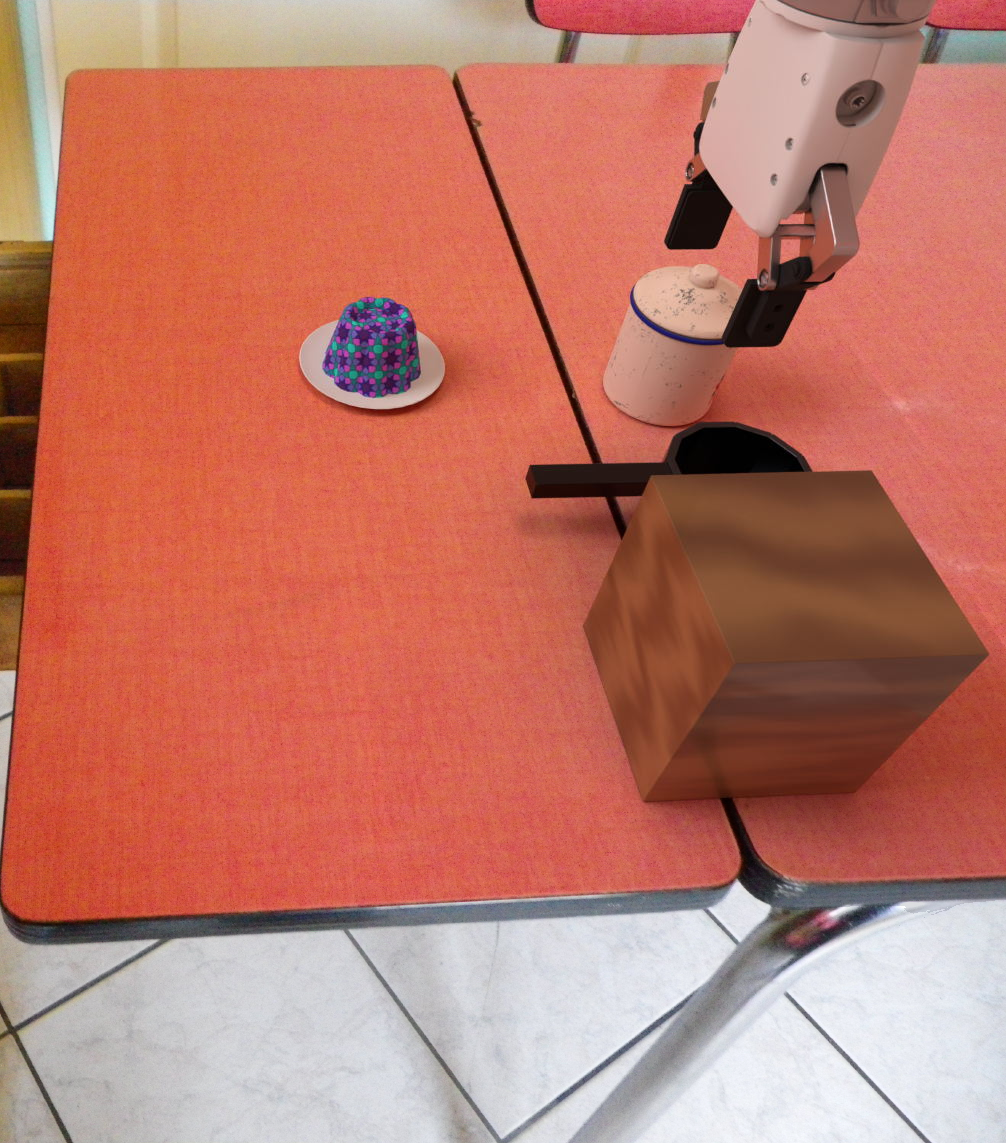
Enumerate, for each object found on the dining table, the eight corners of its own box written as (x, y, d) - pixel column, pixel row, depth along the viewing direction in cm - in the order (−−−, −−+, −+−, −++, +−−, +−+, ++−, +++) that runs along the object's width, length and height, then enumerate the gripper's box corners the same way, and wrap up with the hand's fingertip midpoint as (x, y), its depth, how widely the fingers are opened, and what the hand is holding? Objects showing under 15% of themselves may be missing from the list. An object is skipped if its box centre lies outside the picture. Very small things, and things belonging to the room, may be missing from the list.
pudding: (407, 314, 92) (417, 262, 88) (468, 400, 84) (481, 348, 80) (278, 337, 89) (282, 284, 85) (329, 428, 82) (335, 375, 78)
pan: (756, 469, 80) (783, 420, 76) (808, 569, 74) (841, 520, 70) (501, 474, 79) (516, 424, 75) (532, 575, 72) (550, 526, 69)
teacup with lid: (729, 428, 83) (792, 305, 74) (618, 432, 82) (668, 308, 73) (676, 335, 91) (727, 213, 82) (574, 338, 90) (615, 215, 81)
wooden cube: (855, 792, 62) (990, 654, 52) (642, 801, 61) (734, 663, 51) (770, 619, 71) (871, 469, 60) (582, 625, 70) (650, 475, 59)
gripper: (1037, 52, 42) (844, 386, 55) (849, -91, 54) (726, 214, 67) (858, 51, 42) (706, 389, 55) (708, -92, 53) (611, 215, 66)
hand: (717, 293), depth 61 cm, fingers open, 9 cm apart
